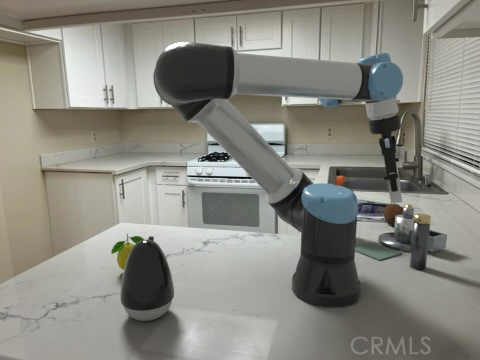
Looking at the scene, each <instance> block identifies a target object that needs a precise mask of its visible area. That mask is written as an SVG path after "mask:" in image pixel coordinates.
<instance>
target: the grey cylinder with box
mask: <svg viewBox="0 0 480 360" xmlns="http://www.w3.org/2000/svg"><path fill="white" fill-rule="evenodd" d="M402 207H403V215H396V216H395V225H394V231H393V232H394V239H395V240H397V241H400V242H404V243H410V245H412V235H413V223H414V214H415V213H414V212H415V208H414V207H413V204H409V203H407V204H405V206H402ZM447 239H448V234H447V233H443V232H440V231H436V230H432V229H430V232H429V242H428V251H430V252H433V253H434V252H437V251H439V250H442V249H446V248H447Z"/></svg>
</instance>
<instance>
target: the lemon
mask: <svg viewBox="0 0 480 360" xmlns="http://www.w3.org/2000/svg"><path fill="white" fill-rule="evenodd" d="M129 239H130V240H131V241H132V242H133V243H132V242H129ZM142 240H145V239H144V237H141V236H140V235H134V236H131V237H130V236H129V234H128V233H126V240H122V241H121V240H120V241H118V242H116V243H115V244H114V245H113V246H112V248H111V252H110V253H111V255H113V254H116V253H117V254H116V255H117V256H116V262H117V264H118V265H117V266H118V267H119V268H120V269H121V270H123V271H124V269H125V265H126V261H127V258H128V256H129V253H130V251H131V250H132V248H133V246H134V245H135V244H136V243H138V242H139V241H142ZM134 243H135V244H134Z"/></svg>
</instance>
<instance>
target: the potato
mask: <svg viewBox="0 0 480 360" xmlns="http://www.w3.org/2000/svg"><path fill="white" fill-rule="evenodd" d="M403 207H404V206H401V205H399V204H396V203H389V204H387V205H386V206H385V207H384V211H383V217H384V221H385V222H386V223H387V224H388V225H391V226H395V216H396V215H403Z"/></svg>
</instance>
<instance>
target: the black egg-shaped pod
mask: <svg viewBox="0 0 480 360" xmlns="http://www.w3.org/2000/svg"><path fill="white" fill-rule="evenodd" d="M154 240H155V237H154V236H153V235H149V236H148V239H144V240H142V241H139V242H138V243H135V244H134V246H133V248H132V250H131V251H130V253H129V256H128V258H127V261H126V265H125V269H124V270H123V273H122V278H121V285H120V294H119V296H120V303H121V305H122V306H123V309H124V311H125V312H126V314H127V316H129V317H130V318H132V319H133V320H136V321H139V322H140V321H141V322H149V321H154V320H156V319H159V318H161V317H162V316H164V315H165V314H166V313H167V312H168V311H169V309H170V308H171V306H172V302H173V299H174V297H175V286H174V281H173V276H172V272H171V270H170V269H171V268H170V265H169V263H168V260H167V257H166V255H165V253H164V251H163V249H162V248H161V246H160V245H159V244H158V243H157V242H156V241H154Z"/></svg>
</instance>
